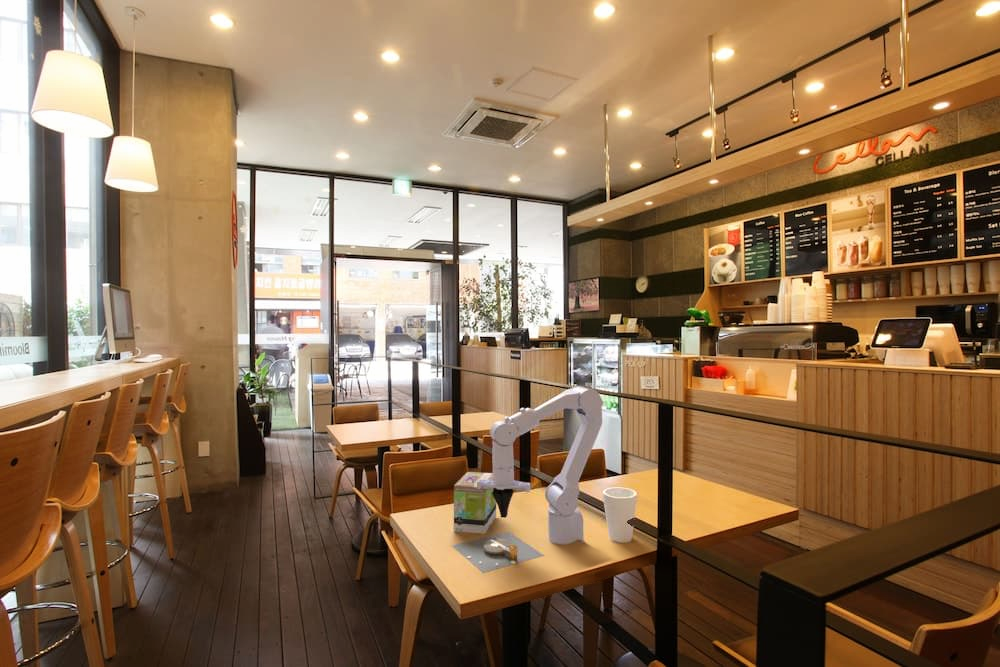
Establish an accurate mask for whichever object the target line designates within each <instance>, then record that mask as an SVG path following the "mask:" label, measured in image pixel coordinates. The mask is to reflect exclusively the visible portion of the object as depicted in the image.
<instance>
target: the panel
mask: <svg viewBox="0 0 1000 667" xmlns="http://www.w3.org/2000/svg"><path fill="white" fill-rule="evenodd" d="M493 538H502V539H506V540H508V541H509V542H510V546H511V545H515V546H517V560H510V559H509V558H508V557H507V556H505V555H491V554H488V553H486V552H485V551H484V542H485V541H487V540H489V539H493ZM451 546H452V547H453V548H454V549H455V550H456V551H457V552H459V553H460V554H461V556H463V557H464V558H465V559H467V560H468V561H469V563H471V564H472V565H473V566H474V567H476V568H477V569H478V570H479V571H480V572H481V573H482V574H485V573H488V572H492V571H494V570H496V571H497V570H499V569H502V568H506V567H509V566H513V565H516V564H519V563H520V564H521V563H522V562H523V563H524V562H526V561H530V560H533V559H534V560H535V559H536V558H541V557H544V556H545V554H543V553H542V552H540V551H539V550H537V549H536V548H534V547H532V546H531V545H529V544H528V543H527V542H525V541H523V540H522V539H520V538H519V537H517V536H516V535H514V534H513V533H511V532H510V531H505V532H501V533H498V534H494V535H490V536H485V537H481V538H477V539H473V540H468V541H465V542H461V543H457V544H452V545H451Z"/></svg>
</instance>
